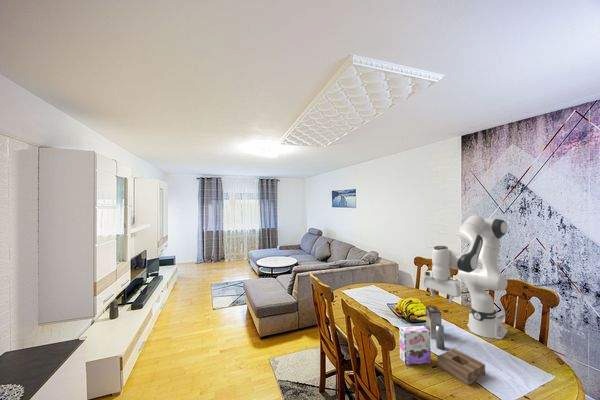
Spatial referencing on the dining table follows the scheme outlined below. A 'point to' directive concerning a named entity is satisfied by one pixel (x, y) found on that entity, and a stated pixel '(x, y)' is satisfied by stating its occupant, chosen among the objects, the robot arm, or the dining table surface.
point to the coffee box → (432, 319)
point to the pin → (440, 337)
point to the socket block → (461, 366)
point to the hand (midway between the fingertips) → (441, 299)
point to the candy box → (414, 345)
